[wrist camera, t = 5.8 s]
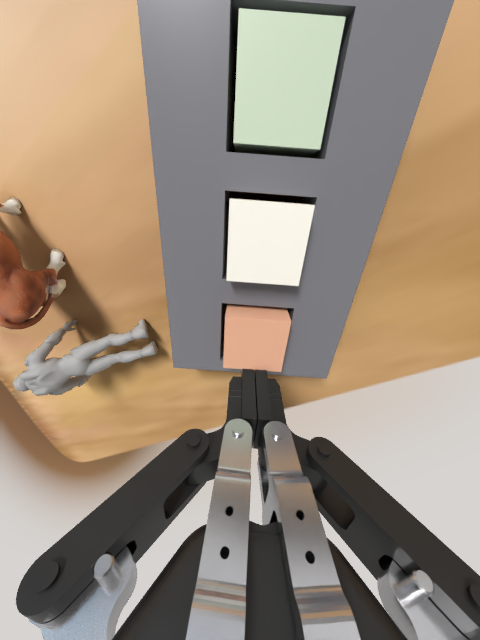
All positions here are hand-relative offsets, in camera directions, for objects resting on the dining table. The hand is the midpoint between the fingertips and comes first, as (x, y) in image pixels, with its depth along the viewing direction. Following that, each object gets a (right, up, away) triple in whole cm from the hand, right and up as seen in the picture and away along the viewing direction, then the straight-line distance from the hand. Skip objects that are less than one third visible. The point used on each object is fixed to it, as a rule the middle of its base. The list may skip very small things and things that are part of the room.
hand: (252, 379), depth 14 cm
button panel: (+1, +11, +4) cm, 12 cm away
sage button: (+1, +17, 0) cm, 17 cm away
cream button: (+1, +10, +2) cm, 10 cm away
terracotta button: (0, +3, +6) cm, 7 cm away
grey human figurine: (-15, +2, +11) cm, 18 cm away
